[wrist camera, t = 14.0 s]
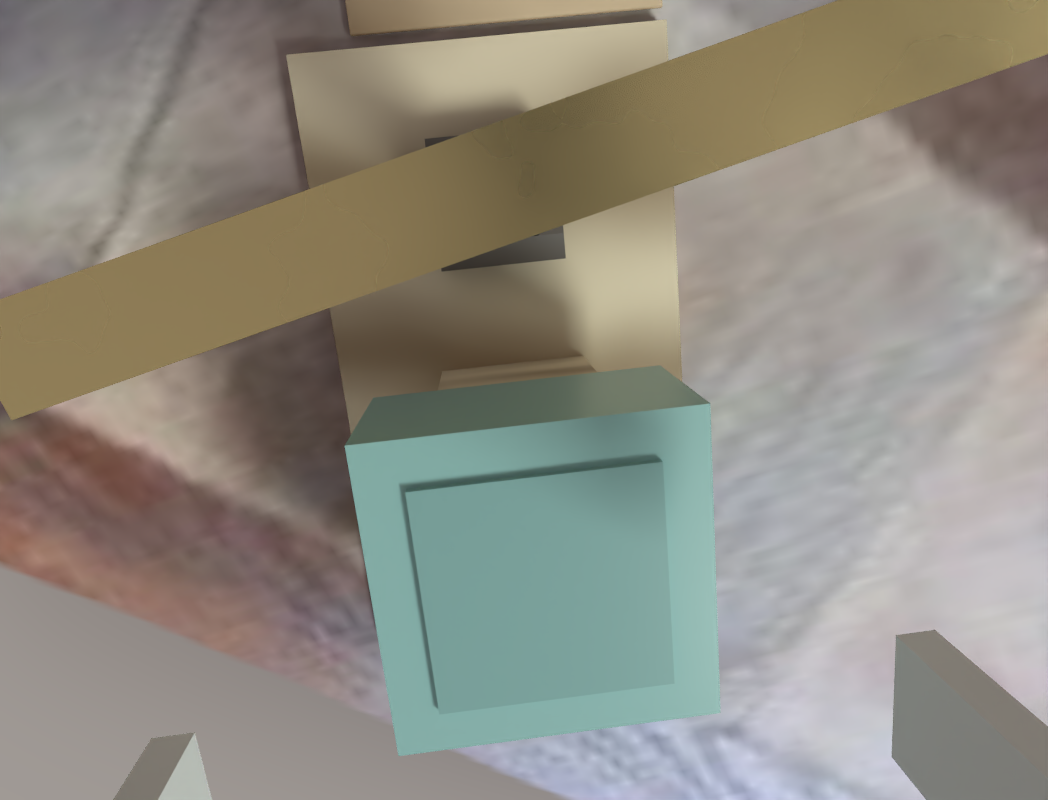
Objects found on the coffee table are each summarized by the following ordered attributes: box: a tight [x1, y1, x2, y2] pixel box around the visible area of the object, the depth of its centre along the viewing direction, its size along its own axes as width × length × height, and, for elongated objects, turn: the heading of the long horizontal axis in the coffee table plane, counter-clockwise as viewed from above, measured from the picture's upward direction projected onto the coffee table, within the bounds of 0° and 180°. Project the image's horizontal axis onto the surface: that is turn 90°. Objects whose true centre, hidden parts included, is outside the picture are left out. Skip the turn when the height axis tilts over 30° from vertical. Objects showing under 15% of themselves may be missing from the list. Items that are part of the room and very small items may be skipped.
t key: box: [0, 0, 1048, 420], centre depth 17 cm, size 20×2×11 cm, turn 109°
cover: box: [345, 365, 720, 756], centre depth 20 cm, size 9×9×5 cm
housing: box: [286, 20, 682, 434], centre depth 23 cm, size 21×12×4 cm, turn 6°
